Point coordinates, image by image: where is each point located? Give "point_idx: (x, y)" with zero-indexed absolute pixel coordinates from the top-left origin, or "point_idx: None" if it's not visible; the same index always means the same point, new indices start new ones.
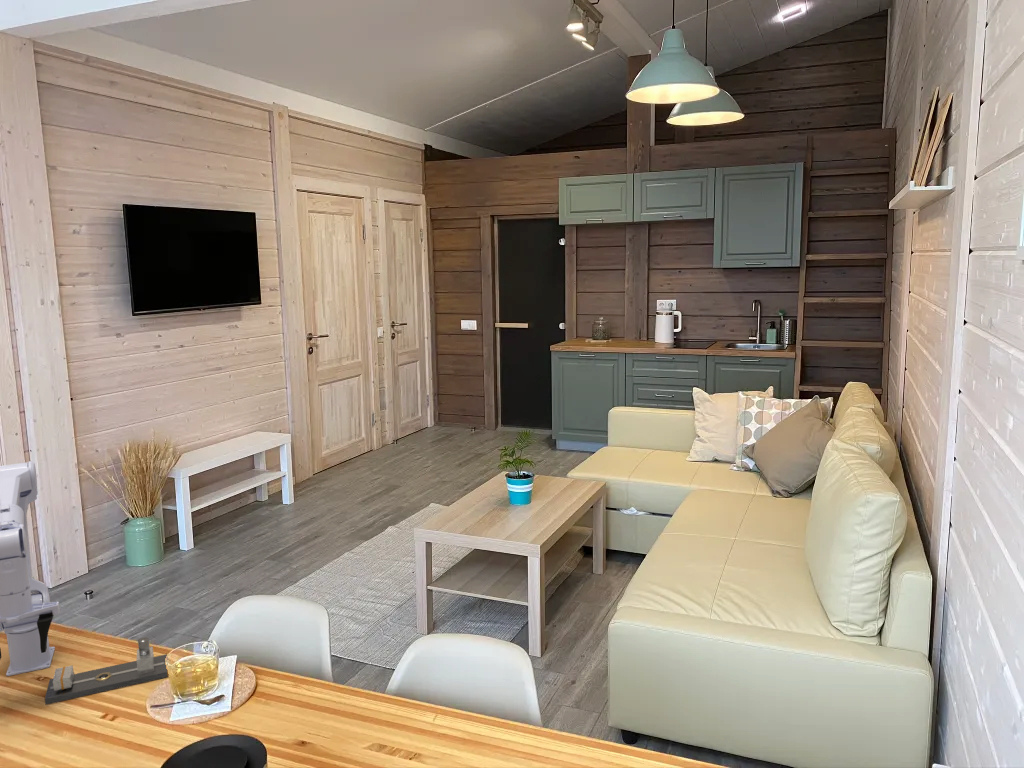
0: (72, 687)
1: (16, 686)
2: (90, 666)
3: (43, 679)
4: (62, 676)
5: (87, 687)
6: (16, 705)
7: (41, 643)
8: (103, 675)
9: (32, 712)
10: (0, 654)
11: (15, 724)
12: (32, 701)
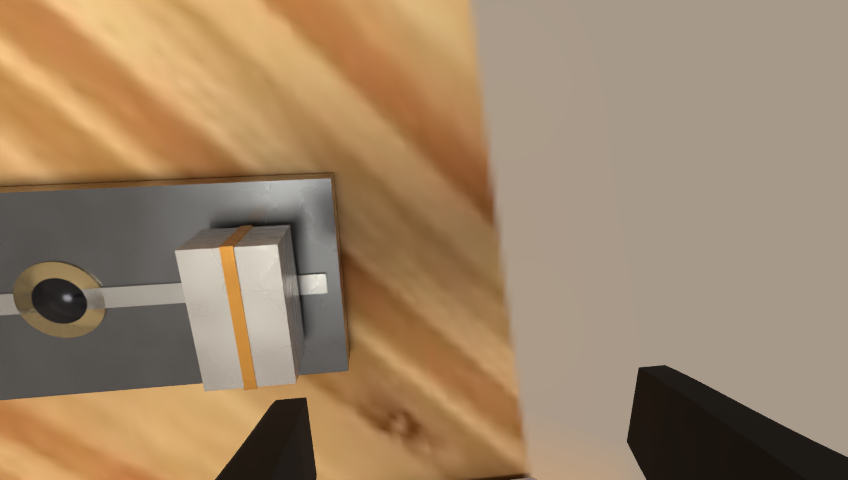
0: None
1: (490, 394)
2: (208, 456)
3: (391, 413)
4: (227, 274)
5: (119, 213)
6: (467, 233)
7: (264, 469)
8: (61, 308)
9: (384, 131)
10: (649, 448)
11: (444, 41)
12: (403, 241)
